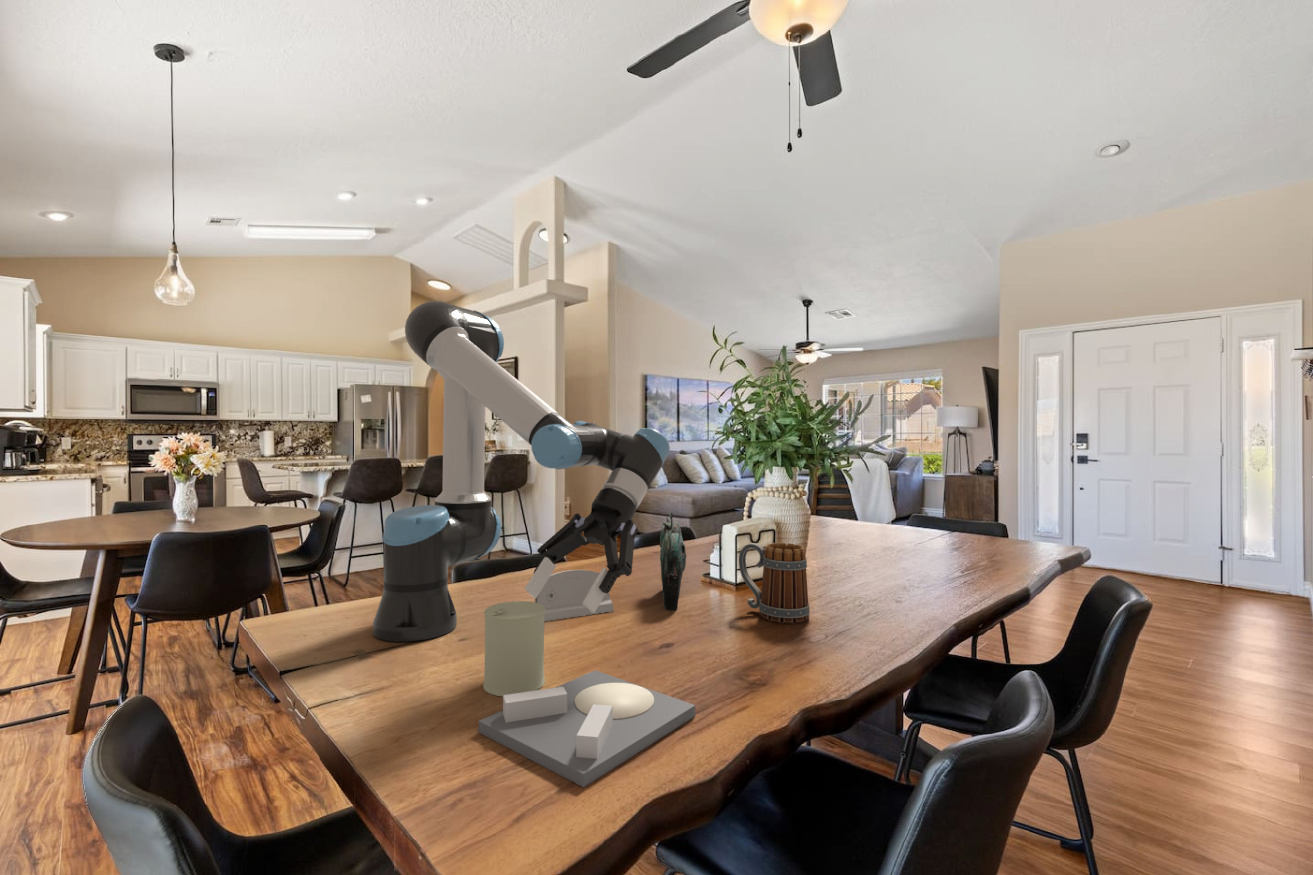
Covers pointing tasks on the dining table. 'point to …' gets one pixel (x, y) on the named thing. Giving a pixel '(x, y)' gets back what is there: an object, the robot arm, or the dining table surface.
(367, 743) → the dining table surface
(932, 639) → the dining table surface
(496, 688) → the can
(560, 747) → the coupling stand
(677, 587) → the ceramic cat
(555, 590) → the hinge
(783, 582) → the mug
